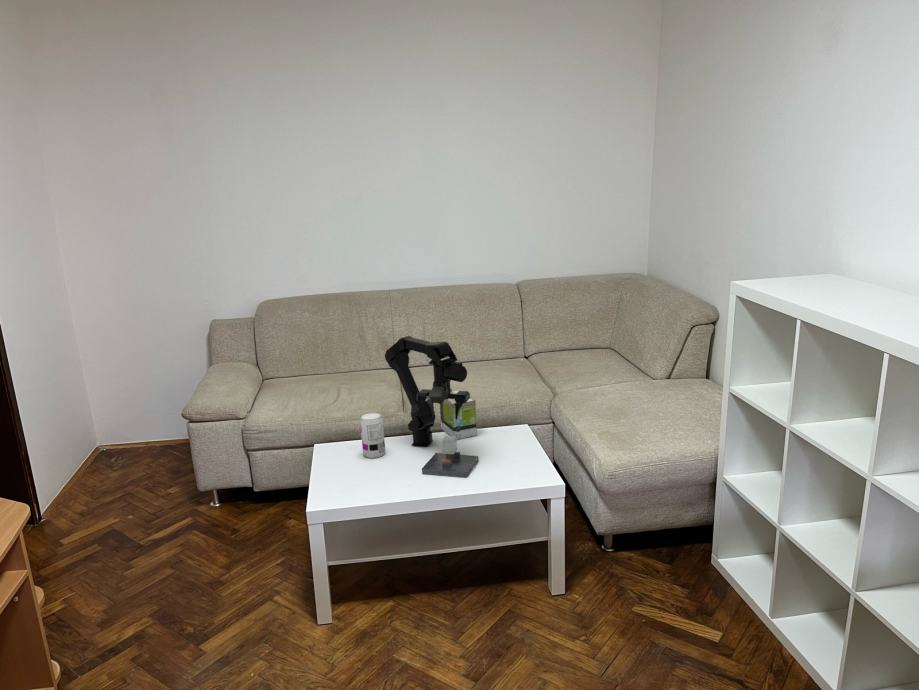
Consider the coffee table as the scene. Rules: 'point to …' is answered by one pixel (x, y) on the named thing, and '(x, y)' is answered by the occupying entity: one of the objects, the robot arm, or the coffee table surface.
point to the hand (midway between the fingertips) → (444, 418)
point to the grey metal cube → (449, 445)
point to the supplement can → (372, 435)
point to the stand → (450, 465)
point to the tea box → (459, 418)
